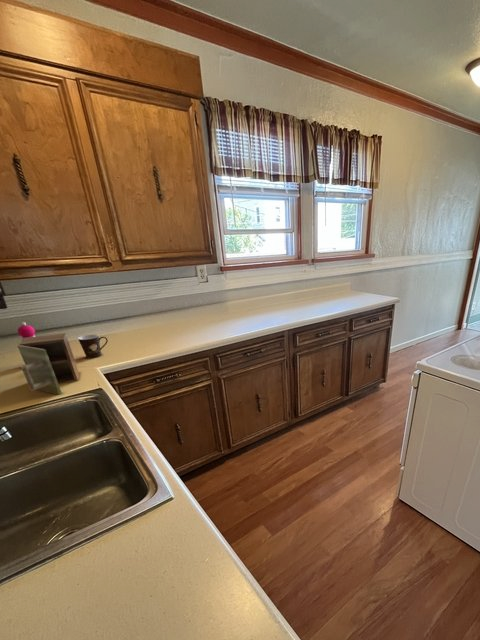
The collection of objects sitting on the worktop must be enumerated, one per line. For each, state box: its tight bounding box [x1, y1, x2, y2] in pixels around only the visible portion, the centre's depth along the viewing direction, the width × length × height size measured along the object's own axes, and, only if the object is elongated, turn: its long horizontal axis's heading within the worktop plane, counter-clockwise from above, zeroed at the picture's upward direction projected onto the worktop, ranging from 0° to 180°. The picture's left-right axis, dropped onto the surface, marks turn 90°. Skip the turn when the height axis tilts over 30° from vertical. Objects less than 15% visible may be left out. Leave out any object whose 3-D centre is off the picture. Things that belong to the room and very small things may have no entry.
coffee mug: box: [77, 334, 108, 359], centre depth 161 cm, size 12×9×10 cm
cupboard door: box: [17, 344, 63, 395], centre depth 119 cm, size 8×14×18 cm, turn 68°
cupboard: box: [18, 332, 80, 385], centre depth 132 cm, size 10×14×18 cm
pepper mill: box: [17, 321, 36, 341], centre depth 148 cm, size 7×7×20 cm
